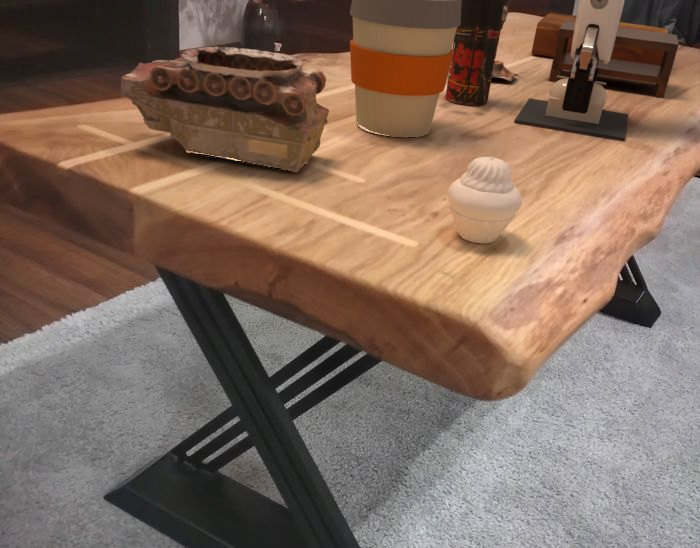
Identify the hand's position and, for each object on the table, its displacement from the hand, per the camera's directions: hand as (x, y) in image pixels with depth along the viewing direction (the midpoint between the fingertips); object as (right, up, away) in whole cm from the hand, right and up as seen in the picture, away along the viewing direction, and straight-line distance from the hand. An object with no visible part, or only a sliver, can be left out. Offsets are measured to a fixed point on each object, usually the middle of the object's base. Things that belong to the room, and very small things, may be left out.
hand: (577, 103), depth 104 cm
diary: (+17, +23, +46) cm, 54 cm away
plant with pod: (-9, +11, +21) cm, 25 cm away
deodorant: (-14, +2, +6) cm, 15 cm away
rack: (+12, +11, +25) cm, 30 cm away
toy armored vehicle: (-44, -14, -25) cm, 52 cm away
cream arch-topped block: (0, -1, +1) cm, 2 cm away
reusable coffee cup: (-25, -6, -10) cm, 28 cm away
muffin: (-20, -23, -37) cm, 48 cm away
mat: (0, -2, +1) cm, 2 cm away
